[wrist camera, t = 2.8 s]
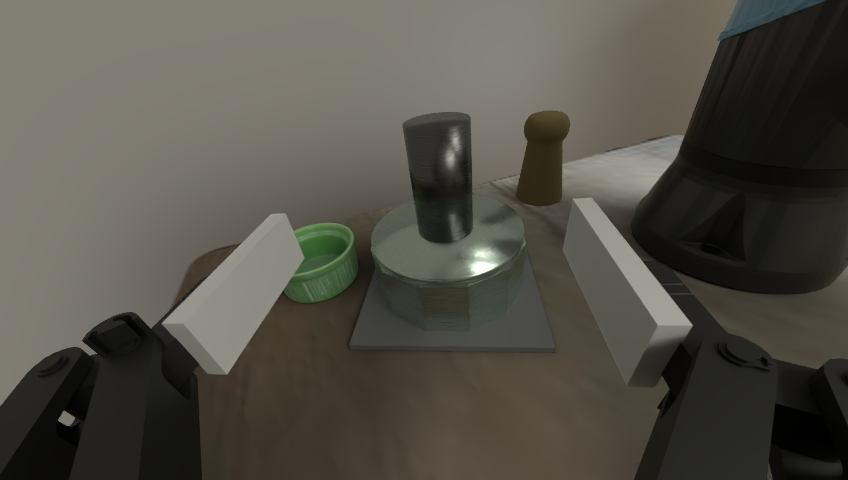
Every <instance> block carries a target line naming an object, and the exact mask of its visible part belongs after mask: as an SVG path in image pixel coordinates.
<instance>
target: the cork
mask: <svg viewBox="0 0 848 480" xmlns="http://www.w3.org/2000/svg"><path fill="white" fill-rule="evenodd" d="M569 127H570V120H569V118H568V116H567V115H566V114H564V113H563V112H558V111H542V112H537V113H534V114H532V115H530V116H529V118H528V119H527V120H526V123H525V126H524V134H525V137H526V139H527V141H528V142H527V147H526V152H525V157H524V160H523V165H522V170H521V174H520V179H519V183H518V188H517V192H516V197H517V198H518V199H519V200H520V201H521V202H523V203H526V204H529V205H535V206H547V205H552V204H555V203H557V202H559V201H560V200H561V198H562V141H563V140H564V138H566V136H567V134H568V132H569Z"/></svg>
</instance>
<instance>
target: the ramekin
mask: <svg viewBox="0 0 848 480" xmlns="http://www.w3.org/2000/svg"><path fill="white" fill-rule="evenodd" d="M293 232H294V234H295V236H296V239H297V241H298V243H299V246H300V248H301V251H302V253H303V255H304V260H303V261H302V263H301V264H300V266H299V267H298V269H297V270H296V272H295V273H294V275H293V276H292V278H291V279H290V281H289V282H288V284H287V285H286V287H285V288H284V290H283V292H284V293H285V294H286V296H287V297H289V298H290V299H291V300H293V301H296V302H300V303H316V302H321V301H325V300H327V299H330V298H332V297H334V296H336V295H338V294H340V293H341V292H343V291H344V290H345V289H346V288H347V287H349V286H350V285H351V284H352V282H353V281H354V279H355V278H356V275H357V273H358V261H357V256H356V252H355V247H354V244H355V240H354V235H353V232H352V231H351V230H350V229H349V228H348V227H346V226H344V225H341V224H337V223H320V224H314V225H310V226H306V227H303V228H300V229H297V230H295V231H293Z"/></svg>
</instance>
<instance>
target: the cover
mask: <svg viewBox="0 0 848 480" xmlns="http://www.w3.org/2000/svg"><path fill="white" fill-rule="evenodd" d="M470 118H471V117H470V116H469V115H467V114H464V113H458V112H441V113H432V114H426V115H421V116H418V117H414V118H412V119H409V120H407V121H406V122H404V123H403V131H404V138H405V145H406V151H407V157H408V164H409V171H410V177H411V184H412V191H413V197H414V200H411V201H408V202H406V203H404V204H402V205H400V206H398V207H396V208H394V209H393V210H391V211H390V212H388V213H387V214H386V215H385V216H383V217H382V218H381V219H380V220H379V222H378V223H377V224H376V226H375V228H374V230H373V233H372V236H371V244H372V247H371V253H372V257H373V260H374V264H375V268H376V271H377V275H378V279H379V282H380V286H381V290H382V292H383V294H384V296H385V298H386V300H387V302H388V304H389V306H390V308H391V310H392V312H393V314H394V315H396V316H397V317H399V318H401V319H403V320H405V321H407V322H409V323H411V324H413V325H415V326H417V327H419V328H421V329H423V330H425V331H459V332H470V331H472V330H474V329H476V328H478V327H480V326H483V325H485V324H487V323H489V322H491V321H493V320H495V319H497V318H499V317H501V316H503V315H506V314H507V312H508V310H509V309H510V307H511V305H512V304H513V302H514V300H515V299H516V297H517V295H518V293H519V292H520V290H521V288H522V281H523V271H524V261H525V251H526V241H525V238H524V225H523V222H522V220H521V218H520V217H519V215H518V214H517V213H516V212H515V211H514V210H513V209H512V208H510V207H509V206H508V205H506V204H504V203H502V202H500V201H498V200H496V199H493V198H490V197H486V196H482V195H477V194H472V160H471V159H472V158H471V122H470V121H471V119H470Z"/></svg>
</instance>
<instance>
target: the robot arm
mask: <svg viewBox="0 0 848 480" xmlns="http://www.w3.org/2000/svg"><path fill="white" fill-rule="evenodd" d="M720 40H721V41H720ZM718 41H720V44H719V46H718V49H717V52H716V54H715V57H714V60H713V62H712V65H711V67H710V70H709V73H708V75H707V78H706V81H705V83H704V86H703V89H702V91H701V94H700V97H699V100H698V102H697V105H696V107H695V110H694V113H693V115H692V118H691V121H690V123H689V126H688V129H687V131H686V134H685V136H684V139H683V142H682V144H681V147H680V150H679V152H678V155H677V157H676V158H675V160H674V161H673V163H672V164H671V165H670V166H669V167H668V169H667V170H666V171H665V172H664V174H663V175H662V176H661V177H660V178H659V180H658V181H657V182H656V184H655V185H654V186H653V187H652V189H651V190H650V191H649V193H648V194H647V195H646V196H645V197H644V198H643V199H642V200H641V201H640V203H639V204H638V206H637V209H636V212H635V215H634V218H633V221H632V224H631V228H632V233H633V235H634V237H635V238H636V240H637V241H638V243H639V244H640V245H641V246H642V247H643V248H644V249H645V250H647V251H648V252H649V253H650V254H652V255H653V256H655V257H656V258H657V259H659V260H661V261H662V262H664V263H666V264H668V265H669V266H671V267H673V268H675V269H678V270H680V271H682V272H684V273H687V274H689V275H691V276H694V277H697V278H699V279H702V280H705V281H708V282H712V283H715V284H719V285H722V286H726V287H731V288H735V289H740V290H745V291H751V292H759V293H768V294H800V293H807V292H812V291H816V290H820V289H822V288H825V287H827V286H828V285H830V284H831V283H832V282H834V280H835V279H836V278H837V277H838V276H839V275H840V274H841V273H842V272H843V271H844V269H845V268H846V267H847V266H848V0H738V1H737V3H736V5H735V8H734V10H733V12H732V15H731V17H730V19H729V21H728V23H727V26H726V28H725V30H724V31H723V32H722V33H721V34H720V36H719V38H718ZM562 251H563V253H564V255H565V257H566V259H567V261H568V263H569V265H570V268H571V270H572V272H573V274H574V276H575V278H576V280H577V282H578V285H579V287H580V289H581V291H582V293H583V295H584V297H585V299H586V302H587V304H588V306H589V308H590V310H591V312H592V314H593V316H594V319H595V321H596V323H597V325H598V327H599V329H600V331H601V333H602V335H603V338H604V340H605V342H606V344H607V346H608V348H609V350H610V352H611V355H612V357H613V359H614V361H615V363H616V365H617V367H618V369H619V372H620V374H621V376H622V378H623V380H624V382H625V384H626V386H634V387H655V386H656V384H657V383H658V381H659V380H660V378H661V376H663V378H664V380H665V381H666V383H667V385H668V386H669V388H670V389H669V391H668V392H667V394H666V395H665V397H664V398H663V400H662V401H661V403H660V404H659V406H658V407H657V408H658V409H660V412H659V415H658V417H657V420H656V423H655V425H654V428H653V431H652V433H651V436H650V439H649V441H648V444H647V447H646V449H645V452H644V454H643V457H642V460H641V462H640V465H639V468H638V470H637V473H636V476H635V478H634V480H767V471H768V462H769V465H770V469H771V473H772V477H773V480H848V360H847V359H830V360H828V361H827V362H826V363H825V364H824V365H823V366H821V367H820V368H819V369H813V368H809V367H805V366H801V365H797V364H792V363H788V362H784V361H780V360H776V359H772V357H771V356H770V355H769V354H768V353H767V352H766V351H764V350H763V349H762V348H760V347H759V346H758V345H756V344H754V343H752V342H750V341H749V340H747V339H745V338H743V337H739V336H736V335H733V334H729V333H727V332H726V331H725V330H724V329H723V328H722V327H721V326H720V324H719V323H718V322H717V321H716V320H715V319H714V318H713V317H712V315H711V314H710V313H709V312H708V311H707V310H706V309H705V307H704V306H703V305H702V304H701V303H700V302H699V301H698V300H697V298H696V297H695V296H694V295H691V292H690V291H689V289H688V288H687V287H686V286H685V285H683V284H682V281H681V280H680V279H679V278H678V277H677V276H676V275H675V274H674V272H673V271H671V270H670V269H668V268H667V267H665V266H664V265H662V264H660V263H659V262H657V261H642V260H641V259H640V258H639V257H638V255H637V254H636V253H635V252H634V250H633V249H632V248H631V247H630V245H629V244H628V243H627V242H626V240H625V239H624V238H623V236H622V235H621V234H620V233H619V231H618V230H617V229H616V228H615V226H614V225H613V224H612V223H611V221H610V220H609V219H608V218H607V216H606V215H605V214H604V212H603V211H602V210H601V209H600V207H599V206H598V205H597V204H596V202H595V201H594V200H593V199H592V198H578V199H572V205H571V210H570V215H569V220H568V225H567V230H566V235H565V240H564V245H563V250H562ZM303 260H304V255H303V253H302V251H301V248H300V246H299V243H298V241H297V239H296V236H295V234H294V232H293V229H292V227H291V225H290V223H289V220H288V218H287V215H286V214H285V213H282V214H271V215H270V216H269V217H268V218H267V219H266V220H265V221H264V222H263V223H262V224H261V225H260V226H259V227H258V228H257V229H256V230H255V231H254V232H253V233H252V234H251V235H250V236H249V237H248V238H247V239H246V240H245V241H244V242H243V243H242V244H241V245H240V246H239V247H238V248H237V249H236V250H235V251H234V252H233V253H232V254H231V255H230V256H229V257H228V258H227V259H226V260H225V261H224V262H223V263H222V264H221V265H220V266H219V267H218V268H217V269H216V270H215V271H214V272H213V273H211V274H209V275H208V276H206V277H205V278H203V279H202V280H200V281H199V282H198V283H197V284H196V285H195V286H194V287H193V288H192V289H191V290H190V292H188V293H187V294H186V295H185V296H184V297H183V298H182V300H180V301H179V302H178V303H177V304H176V305H175V306H174V307H173V308H172V309H171V310H170V311H169V312H168V313H167V314H166V315H165V316H164V317H163V318H162V319H161V320H160V321H159V322H158V323H157V324H156V325H154V326H153V327H152V329H150V328H149V326H147V325H146V323H145V322H144V321H143V320H142V319H141V318H140V317H139V316H138V315H137V314H135V313H133V312H129V313H128V312H127V313H122V314H119V315H116V316H113V317H111V318H109V319H107V320H105V321H103V322H101V323H100V324H99V325H97V326H95V327H94V328H93V329H92V330H91V331H90V332H88V333H87V334H86V336H85V337H84V339H83V340H82V341H83V342H84V343H85V344H86V345H88V346H89V347H90V348H91V349H93V350H94V351H95V352H96V353H97V354H95V355H91V356H89V355H88V354H87V353H86V352H84V351H83V350H82V349H81V348H78V347H72V348H67V349H64V350H61V351H59V352H56V353H53V354H51V355H50V356H48V357H46V358H44V359H43V360H42V361H41V362H40V363H38V364H37V365H35V366H34V367H33V368H32V369H31V370H30V371H29V372H28V373H27V374H26V375H25V377H24V378H23V379H22V380H21V381H20V383H19V384H18V385H17V386H16V388H15V389H14V390H13V391H12V393H11V394H10V395H9V396H8V398H7V399H6V400H5V401H4V403H3V404H2V405H1V406H0V480H202V470H201V448H200V426H199V404H198V382H197V377H196V375H195V374H194V373H193V371H194V370H195V369H196V367H197V366H198V365H200V366H201V367H202V368H203V369H204V370H205V371H206V373H207V374H224V375H227V374H228V372H229V371H230V369H231V368H232V366H233V365H234V363H235V362H236V360H237V359H238V357H239V356H240V354H241V353H242V351H243V350H244V348H245V347H246V345H247V344H248V342H249V341H250V339H251V338H252V336H253V335H254V333H255V332H256V330H257V329H258V327H259V326H260V324H261V323H262V321H263V320H264V318H265V317H266V315H267V314H268V312H269V311H270V309H271V308H272V306H273V305H274V303H275V302H276V300H277V299H278V297H279V296H280V294H281V293H282V291H283V290H284V288H285V287H286V285H287V284H288V282H289V281H290V279H291V278H292V276H293V275H294V273H295V272H296V270H297V269H298V267H299V266H300V264H301V263H302V261H303ZM63 411H66V412H67V413H69V414H71V415H72V416H74V417H75V420H74V422H73V423H72V424H71V425H70V426H66V425H64V424H62V423H61V422H59V421H58V419H59V417H60V416H61V414H62V412H63Z"/></svg>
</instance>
